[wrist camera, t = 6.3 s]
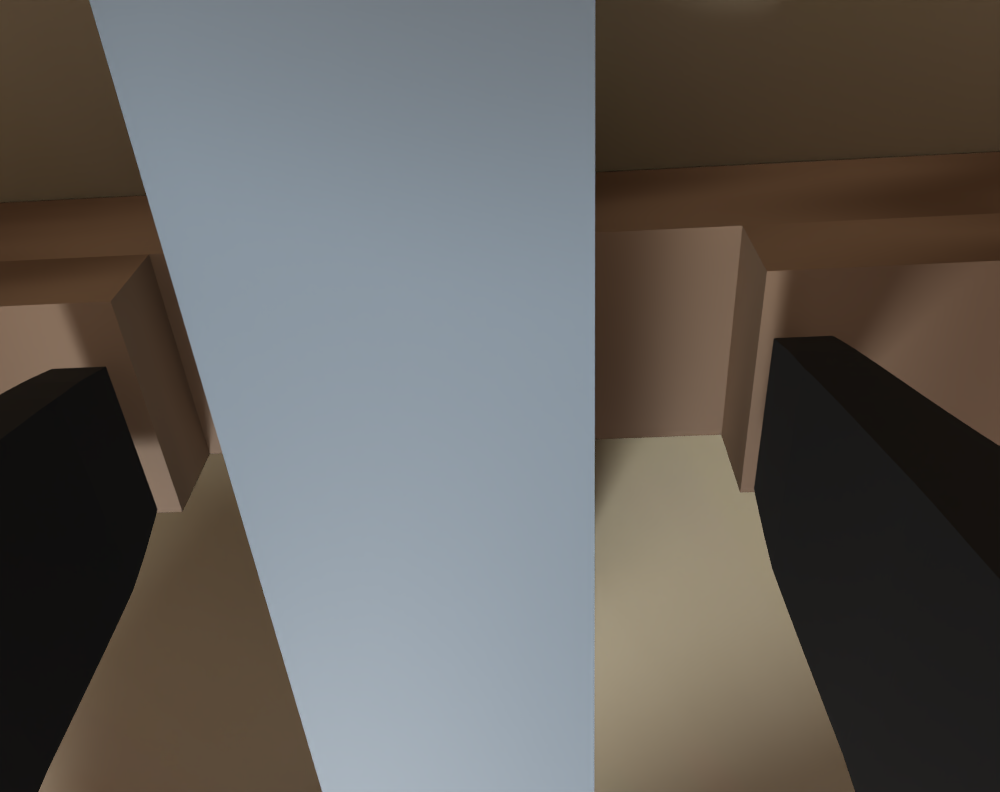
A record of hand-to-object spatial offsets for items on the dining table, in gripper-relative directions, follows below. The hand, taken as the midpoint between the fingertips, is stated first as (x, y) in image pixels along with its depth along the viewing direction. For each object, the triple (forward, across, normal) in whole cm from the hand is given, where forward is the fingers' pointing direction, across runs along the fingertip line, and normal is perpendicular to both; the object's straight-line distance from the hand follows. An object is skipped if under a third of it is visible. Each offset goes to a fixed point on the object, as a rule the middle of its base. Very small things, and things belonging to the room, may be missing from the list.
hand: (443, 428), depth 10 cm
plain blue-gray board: (+4, 0, 0) cm, 4 cm away
